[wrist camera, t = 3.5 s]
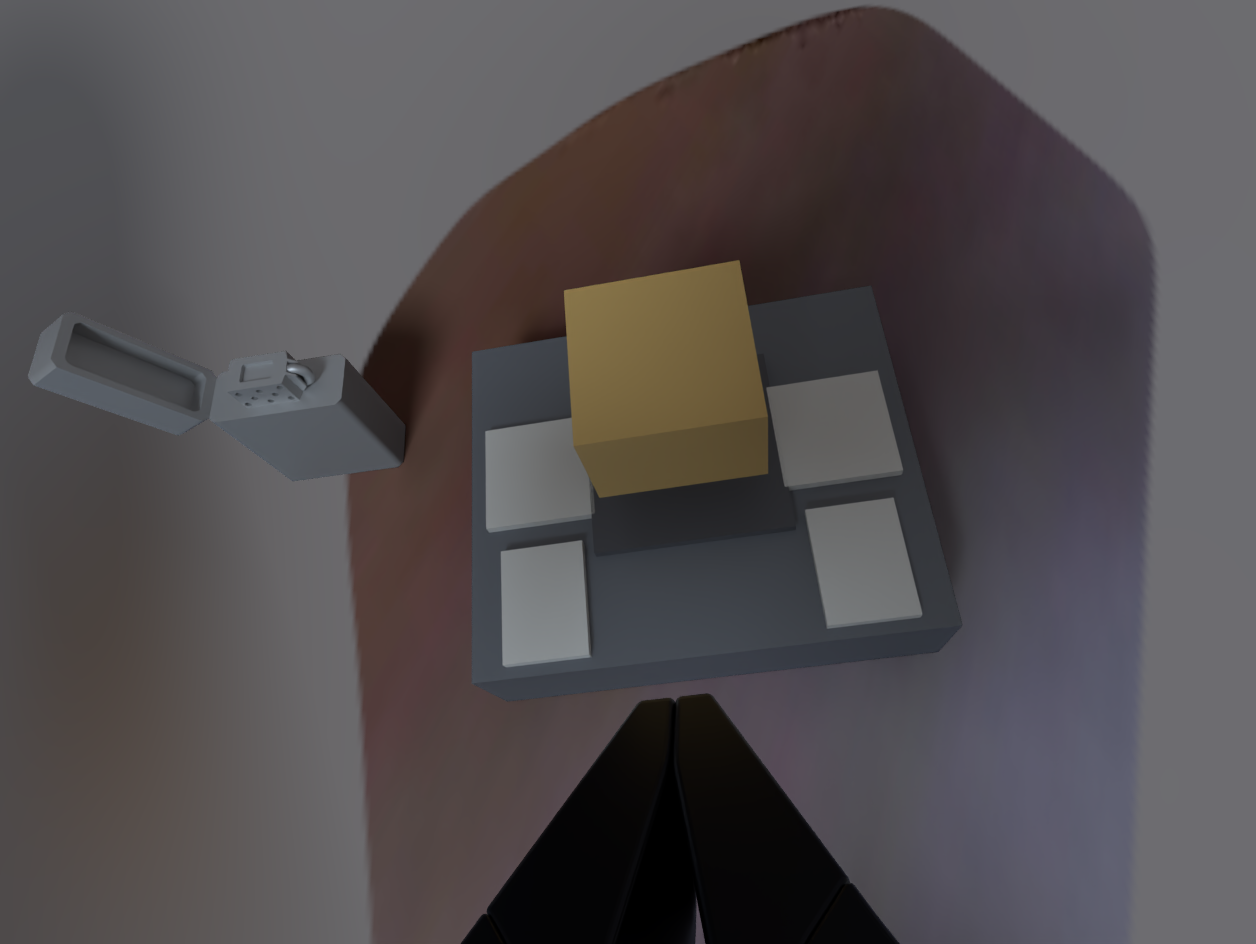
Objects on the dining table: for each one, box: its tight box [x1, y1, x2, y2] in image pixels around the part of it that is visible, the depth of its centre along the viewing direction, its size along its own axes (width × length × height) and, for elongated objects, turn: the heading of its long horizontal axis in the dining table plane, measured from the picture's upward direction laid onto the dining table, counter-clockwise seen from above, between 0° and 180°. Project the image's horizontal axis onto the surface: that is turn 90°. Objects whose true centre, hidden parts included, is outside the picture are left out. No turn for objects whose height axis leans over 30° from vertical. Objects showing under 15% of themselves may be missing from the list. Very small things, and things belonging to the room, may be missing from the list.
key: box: [564, 260, 768, 498], centre depth 18 cm, size 4×4×3 cm
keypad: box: [472, 286, 962, 702], centre depth 23 cm, size 10×12×3 cm
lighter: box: [28, 312, 406, 481], centre depth 24 cm, size 7×2×8 cm, turn 94°
